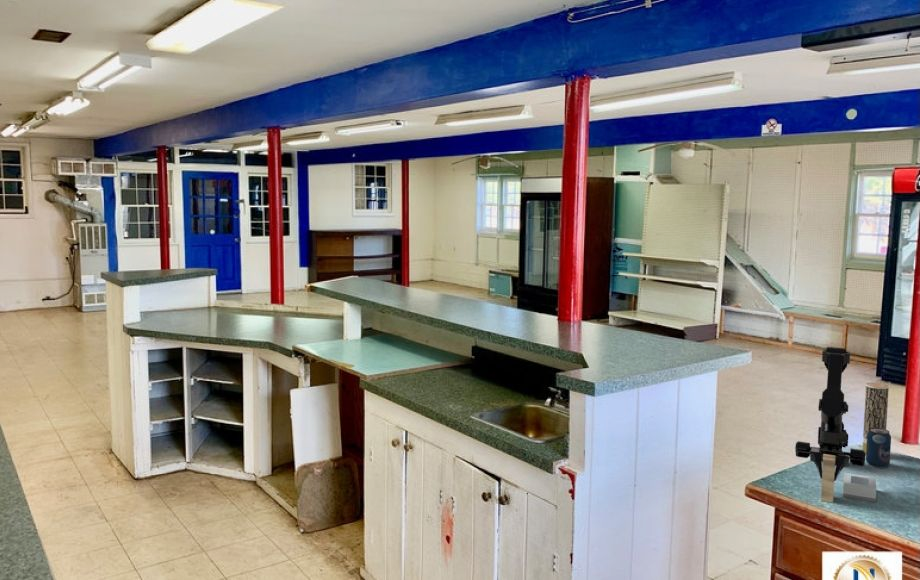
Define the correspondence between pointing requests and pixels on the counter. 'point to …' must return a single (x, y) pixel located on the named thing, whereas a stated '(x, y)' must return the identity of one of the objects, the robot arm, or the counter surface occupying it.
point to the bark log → (875, 408)
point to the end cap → (859, 487)
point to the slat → (828, 478)
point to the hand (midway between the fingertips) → (828, 479)
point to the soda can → (878, 447)
